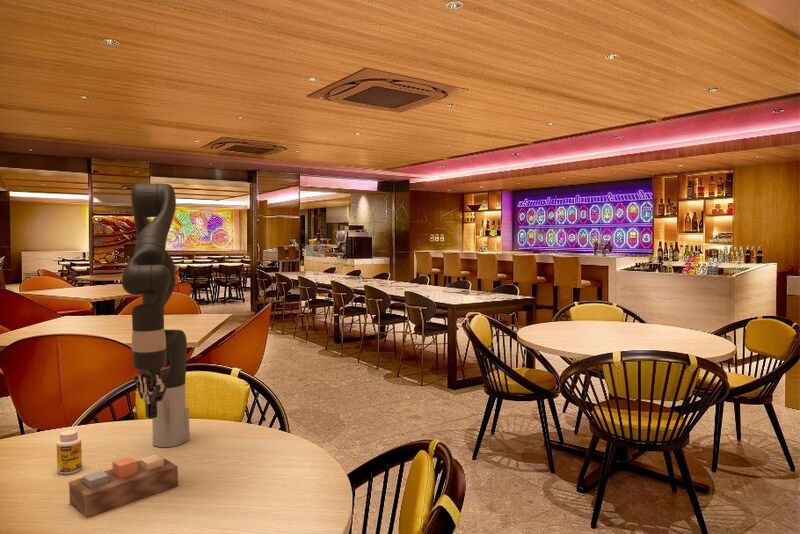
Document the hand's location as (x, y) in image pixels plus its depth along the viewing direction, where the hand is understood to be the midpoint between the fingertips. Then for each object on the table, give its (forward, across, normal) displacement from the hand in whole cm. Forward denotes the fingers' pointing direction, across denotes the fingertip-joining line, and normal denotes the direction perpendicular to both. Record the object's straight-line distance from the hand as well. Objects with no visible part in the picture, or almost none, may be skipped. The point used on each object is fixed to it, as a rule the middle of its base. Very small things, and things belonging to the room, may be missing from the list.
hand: (151, 417), depth 142 cm
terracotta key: (+13, 0, +7) cm, 15 cm away
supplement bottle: (+17, +24, +11) cm, 31 cm away
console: (+17, 0, +7) cm, 18 cm away
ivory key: (+14, 0, 0) cm, 14 cm away
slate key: (+14, 0, +13) cm, 19 cm away
